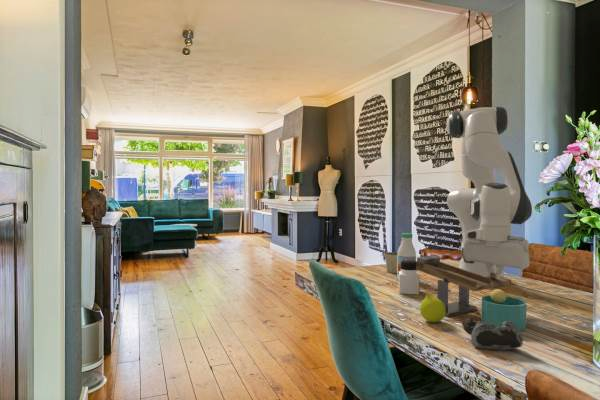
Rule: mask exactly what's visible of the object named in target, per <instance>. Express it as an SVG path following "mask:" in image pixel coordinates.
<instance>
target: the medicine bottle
mask: <svg viewBox="0 0 600 400" xmlns="http://www.w3.org/2000/svg"><path fill="white" fill-rule="evenodd" d="M416 264H417V260H416V261H415V260H402V261H401V271H399V281H398V293H399V294H401V295H420V278H421V277H420V274H419V272H418V270H416Z"/></svg>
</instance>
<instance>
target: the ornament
mask: <svg viewBox="0 0 600 400" xmlns="http://www.w3.org/2000/svg"><path fill="white" fill-rule="evenodd" d="M424 291H425V296H424V298H423V300H422V301H421V303H420V306H419V311H420V312H419V313H420V315H421V317H422V319H424V320H425V321H426V322H429V323H439V322H440V321H442V320H443V319H444V317H446V316H445V313H446V309H445V306H444V304H443V302H442V301H441V300H439V299H438V298H437V297H435V296H432V295H431V294H429V292H428V290H424Z"/></svg>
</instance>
